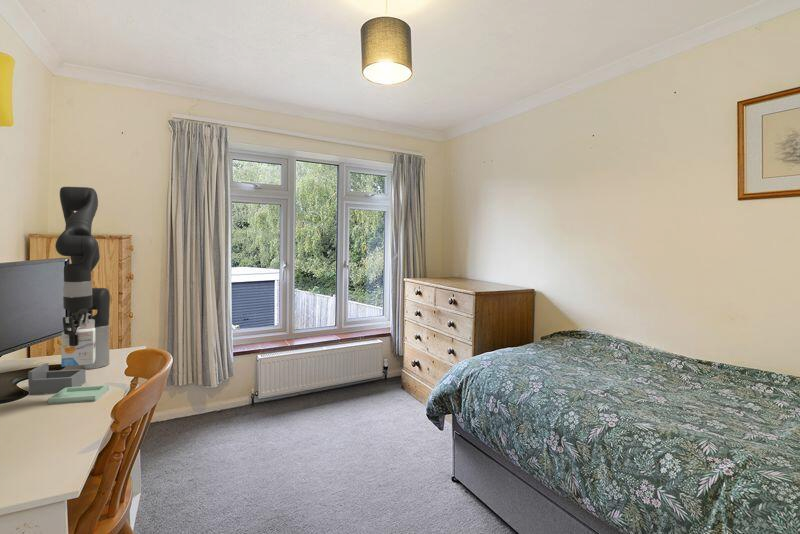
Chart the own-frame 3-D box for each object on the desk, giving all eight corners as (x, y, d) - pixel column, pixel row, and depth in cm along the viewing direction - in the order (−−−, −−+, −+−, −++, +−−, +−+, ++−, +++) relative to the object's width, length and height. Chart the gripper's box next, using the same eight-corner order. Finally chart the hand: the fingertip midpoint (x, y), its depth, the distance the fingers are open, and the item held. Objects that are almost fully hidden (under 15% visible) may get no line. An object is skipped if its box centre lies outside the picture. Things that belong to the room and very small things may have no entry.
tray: (65, 392, 133) (65, 387, 133) (108, 389, 137) (108, 384, 137) (48, 404, 123) (48, 399, 123) (95, 401, 127) (95, 395, 127)
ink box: (61, 367, 125) (60, 323, 124) (64, 363, 129) (63, 320, 128) (93, 363, 129) (93, 321, 129) (95, 360, 134) (95, 318, 133)
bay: (45, 384, 139) (45, 363, 139) (85, 382, 143) (85, 361, 142) (28, 394, 130) (28, 371, 130) (71, 391, 134) (71, 369, 133)
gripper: (76, 291, 134) (77, 338, 135) (51, 297, 120) (52, 349, 121) (101, 291, 136) (101, 337, 137) (79, 297, 122) (80, 348, 123)
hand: (78, 343), depth 129 cm, fingers closed on ink box, 5 cm apart
